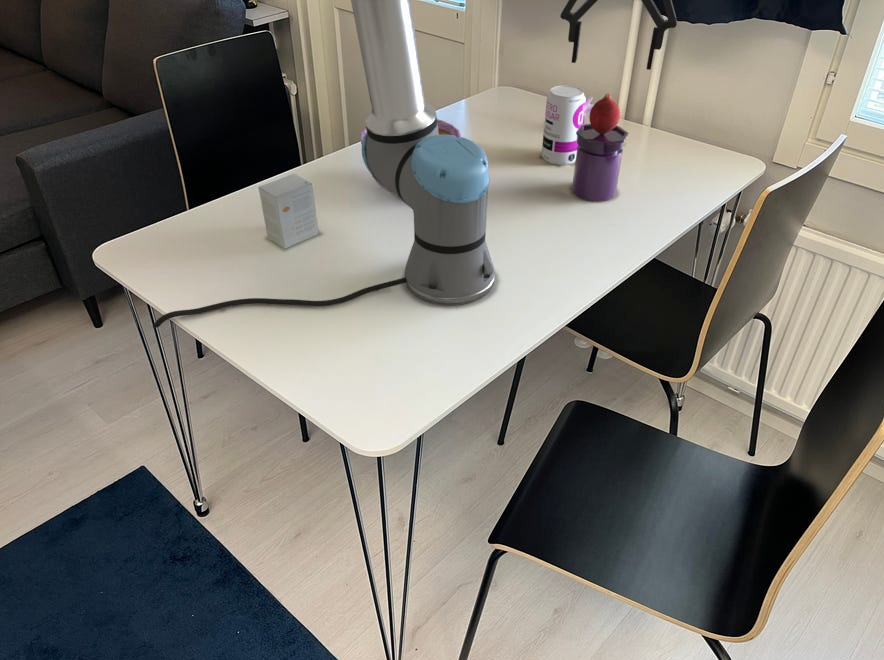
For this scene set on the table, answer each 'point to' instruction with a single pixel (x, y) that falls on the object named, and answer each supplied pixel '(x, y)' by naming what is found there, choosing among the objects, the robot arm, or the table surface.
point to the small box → (289, 210)
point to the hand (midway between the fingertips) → (611, 64)
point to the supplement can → (562, 124)
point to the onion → (604, 115)
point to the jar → (597, 163)
